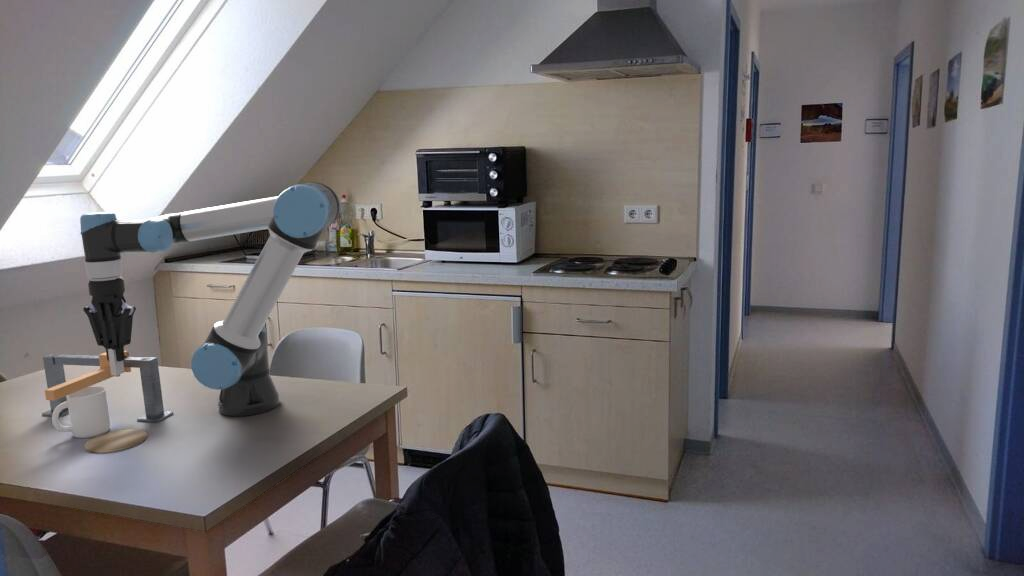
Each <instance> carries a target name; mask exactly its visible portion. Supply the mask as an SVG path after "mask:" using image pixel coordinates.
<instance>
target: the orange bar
mask: <svg viewBox="0 0 1024 576" xmlns="http://www.w3.org/2000/svg"><path fill="white" fill-rule="evenodd" d="M129 353H130V352H129V350H124V356H125V357H130V354H129ZM98 356H99V363H100V366H99V368H98V369H96V370H94V371H93V370H92V371H90V372H88V373H85V374H83V375H80V376H77V377H75V378H72V379H70V380H66V382H64V383H62V384H59V385H57V386H54V387H51V388H49V389H48V388H47V389H44V394H45V400H46V401H50V400H54V401H55V400H57V399H60V398H62V397H65V396H67V395H70V394H72V393H75V392H77V391H79V390H82V389H84V388H87V387H93V386H94V385H96V384H99V383H101V382H104V381H106V380H109V379H111V378H115V377H121V374H119V375H117V376H114V375H111V370H110V362H109V361H108V360H107V354H106V351H105V352H103V353H100V354H98ZM131 372H132V367H124V373H131Z"/></svg>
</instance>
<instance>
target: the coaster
mask: <svg viewBox="0 0 1024 576" xmlns="http://www.w3.org/2000/svg"><path fill="white" fill-rule="evenodd" d="M147 438H148V434H147V432H146V431H144V430H141V429H135V428H134V429H133V428H130V429H127V428H126V429H119V430H113V431H107V432H106V433H104V434H101V435H99V436H95V437H91V438H90V439H88V440H87V441H86V442H85V443H84V450H85V451H86V452H89V453H94V454H106V453H107V454H108V453H115V452H120V451H123V450H127V449H130V448H133V447H136V446H138V445H140V444H142V443H143V442H145V441H146V440H147Z"/></svg>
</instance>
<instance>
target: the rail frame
mask: <svg viewBox="0 0 1024 576" xmlns="http://www.w3.org/2000/svg"><path fill="white" fill-rule="evenodd" d="M42 359H43V360H42V361H43V368H44V372H45V379H46V387H47V389H49V388H51V387H54V386H57V385H59V384H62V383H64V382H67V380H66V374H65V369H64V368H65V367H64V366H81V367H82V366H87V367H100V363H99V355H87V354H86V355H85V354H63V353H51V354H48V355H44V356H42ZM123 364H124V367H131V368H132V369H133V368H136V369H137V368H138V369H139V372H140V379H141V388H142V396H143V404H144V412H145V414H143V415H142V416H140V417H138V418H136V421H137V422H146V423H148V422H149V423H160V422H161V421H163V420H165V419H167V418H169V417H170V416H172V415H174V411H168V410H166V411H165V409H164V401H163V395H162V385H161V384H162V383H161V378H160V377H161V376H160V370H159V361H158V357H157V356H156V357H153V356H151V357H149V356H147V357H143V356H142V357H141V356H140V357H139V356H138V357H137V356H129V357H125V359H124V360H123ZM65 401H67V397H66V396H65V397H62V398H60V399H57V400H55V401H54V400H49V405H50V409H49V410H46V411H45V412H41V415H42V417H43V416H44V417H52V414H53V411H54V409H55V408H56V407H57V406H58V405H59V404H61V403H63V402H65ZM65 415H69V411H68V408H65V409H63V410H62V411H61V412H60V413H59V416H58V418H59V417H63V416H65Z"/></svg>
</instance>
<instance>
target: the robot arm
mask: <svg viewBox="0 0 1024 576" xmlns="http://www.w3.org/2000/svg"><path fill="white" fill-rule="evenodd" d="M340 211H341V203H340V198H339V196H338V195H337V193H336V191H335V190H334V189H333V188H332V187H330V186H329V185H327V184H326V183H323V182H319V181H318V182H317V181H316V182H315V181H314V182H313V181H312V182H308V183H298V184H293V185H291V186H289V187H287V188H286V189H284V190H283V191H282V192H281V193H280V194H279V195H278V196H270V197H266V198H264V197H263V198H259V199H253V200H247V201H241V202H235V203H228V204H224V205H218V206H212V207H211V206H210V207H205V208H200V209H193V210H188V211H187V210H186V211H183V212H175V213H165V214H163V215H160V216H159V215H158V216H153V217H149V218H143V219H131V220H119V219H117V216H116V213H115V212H114V211H113V212H112V211H100V212H96V211H95V212H87V213H83V214H82V215H80V218H79V223H80V235H81V239H82V240H81V241H82V246H83V252H84V263H85V271H86V277H87V279H89V280H88V281H87V287H88V293H89V296H91V301H90V304H89V305H88V306H85V307H83V308H82V309H83V312H84V313H85V315H86V316H87V318H88V320H89V321H88V322H89V323H90V326H91V329H92V330H91V331H92V332H93V335H94V338H95V341H96V345H97V346H98V347H103V348H104V349H105V352H106V354H107V360H108V361H109V362H110V370H111V375H114V376H117V375H119V374H120V375H121V374H124V373H125V372H124V364H123V360H124V359H125V356H124V351H125V350H124V349H125V348H124V347H125V346H128V345H131V342H132V329H133V323H134V322H133V321H134V320H133V319H134V314H135V313H136V310H137V309H136V308H137V307H136V306H135V305H132V306H131V305H129V304H127V300H126V298H125V296H124V294H125V291H126V288H125V279H124V278H123V277H122V275H123V265H122V257H121V253H156V252H165V251H167V250H169V249H170V247H172V245H178V244H183V243H189V242H195V241H200V240H201V241H202V240H207V239H215V238H219V237H220V238H221V237H224V236H225V237H226V236H232V235H238V234H239V235H240V234H243V233H250V232H257V231H262V230H268V233H269V237H268V239H267V240H266V243H265V245H264V246H263V248H262V249H261V252H260V254H259V255H258V258H257V259H256V261H255V263H254V265H252V268H251V270H250V272H249V274H248V276H247V278H246V280H245V281H244V283H243V285H242V287H241V289H240V290H239V292H238V295H237V296H236V298H235V300H234V302H233V303H232V305H231V307H230V309H229V311H228V313H227V314H226V316H225V318H224V319H223V320H219V321H217V322H214V324H213V326H212V328H211V330H210V332H209V334H208V336H207V337H206V339H205V341H204V343H203V344H201V345H199V346H198V347H197V348H196V349H195V351H194V352H193V354H192V356H191V358H190V359H191V360H190V368H191V371H192V373H193V376H194V378H195V379H196V381H198V383H200V384H201V385H203V387H206V388H209V389H211V390H220V393H219V397H218V401H217V405H218V412H219V413H220V414H221V415H225V416H228V417H229V416H231V417H243V416H244V417H245V416H252V415H258V414H262V413H266V412H269V411H271V410H273V409H274V408H277V406H279V404H280V395H279V392H278V390H277V388H276V385H275V384H274V381H273V379H272V377H271V374H270V364H269V363H270V362H269V361H270V360H269V352H268V342H267V331H266V325H265V324H266V323H267V321H268V319H269V317H270V315H271V313H272V312H273V310H274V308H275V306H276V305H277V303H278V301H279V299H280V297H281V295H282V293H283V291H284V290H285V289H286V286H287V284H288V283H289V281H290V279H291V277H292V275H293V273H294V271H295V270H296V268H297V266H298V265H299V262H300V261H301V260H302V257H303V255H304V254H306V253H307V252H311V251H314V249H315V247H316V245H317V244H318V242H319V241H320V238H321V237H322V234H323V233H324V232H325V229H327V228H329V227H331V226H332V225H333V224H334V223H335V222H336V221H337V219H338V218H339V214H340Z"/></svg>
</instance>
